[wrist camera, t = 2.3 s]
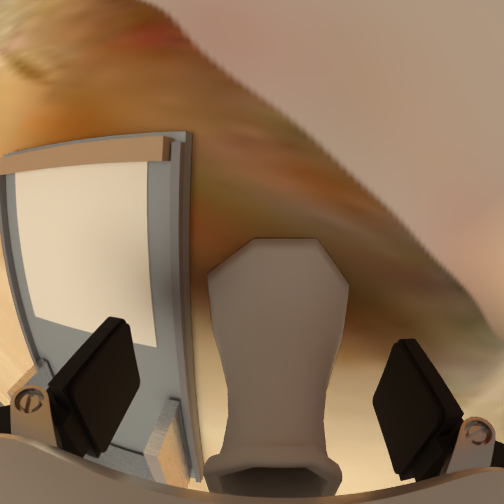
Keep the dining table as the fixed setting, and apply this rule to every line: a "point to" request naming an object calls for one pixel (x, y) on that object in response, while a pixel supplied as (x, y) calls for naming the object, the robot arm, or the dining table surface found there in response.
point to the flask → (276, 367)
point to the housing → (156, 451)
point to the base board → (107, 262)
